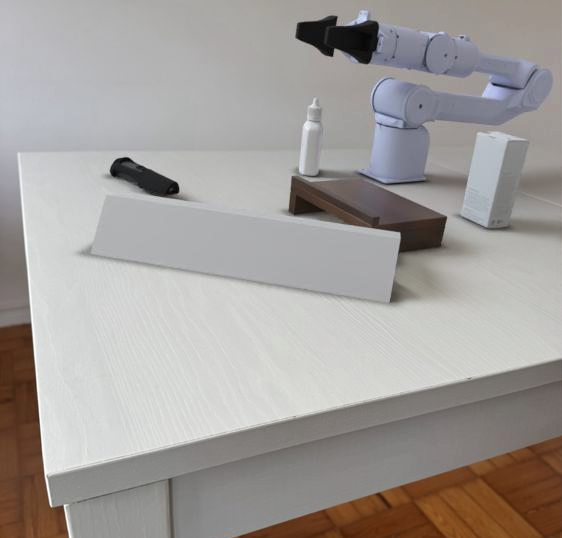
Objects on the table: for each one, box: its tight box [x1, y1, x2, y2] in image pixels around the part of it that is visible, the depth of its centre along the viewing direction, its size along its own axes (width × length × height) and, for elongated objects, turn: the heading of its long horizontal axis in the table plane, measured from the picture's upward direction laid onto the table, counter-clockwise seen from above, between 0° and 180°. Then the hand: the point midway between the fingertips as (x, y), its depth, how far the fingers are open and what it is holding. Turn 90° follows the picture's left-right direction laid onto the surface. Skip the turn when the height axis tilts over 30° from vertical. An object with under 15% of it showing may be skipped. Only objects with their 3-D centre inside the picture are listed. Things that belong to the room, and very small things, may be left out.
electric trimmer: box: [109, 156, 181, 197], centre depth 87 cm, size 4×16×3 cm, turn 42°
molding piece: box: [90, 192, 401, 304], centre depth 69 cm, size 32×12×10 cm
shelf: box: [287, 175, 448, 254], centre depth 78 cm, size 12×18×5 cm, turn 31°
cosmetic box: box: [460, 130, 530, 229], centre depth 84 cm, size 6×4×12 cm
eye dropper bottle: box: [298, 97, 324, 177], centre depth 100 cm, size 4×6×12 cm
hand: (311, 32), depth 85 cm, fingers open, 7 cm apart
